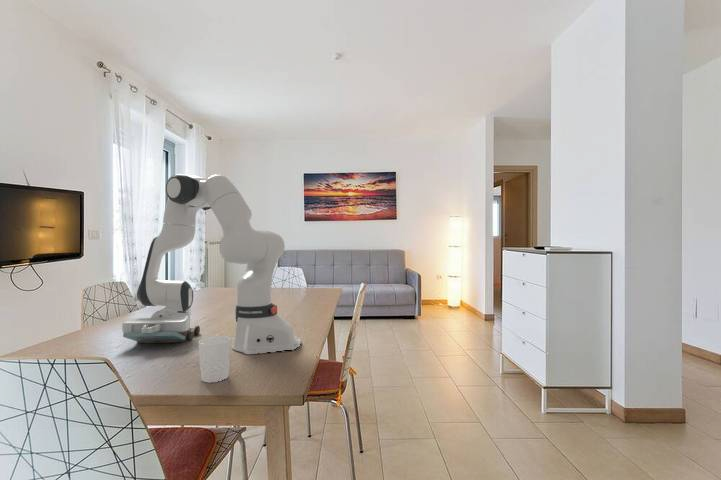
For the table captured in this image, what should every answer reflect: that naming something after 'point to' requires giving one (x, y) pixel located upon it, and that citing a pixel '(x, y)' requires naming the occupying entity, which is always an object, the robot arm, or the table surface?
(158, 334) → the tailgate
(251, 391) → the table surface
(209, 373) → the white cup
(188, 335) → the cart bed
